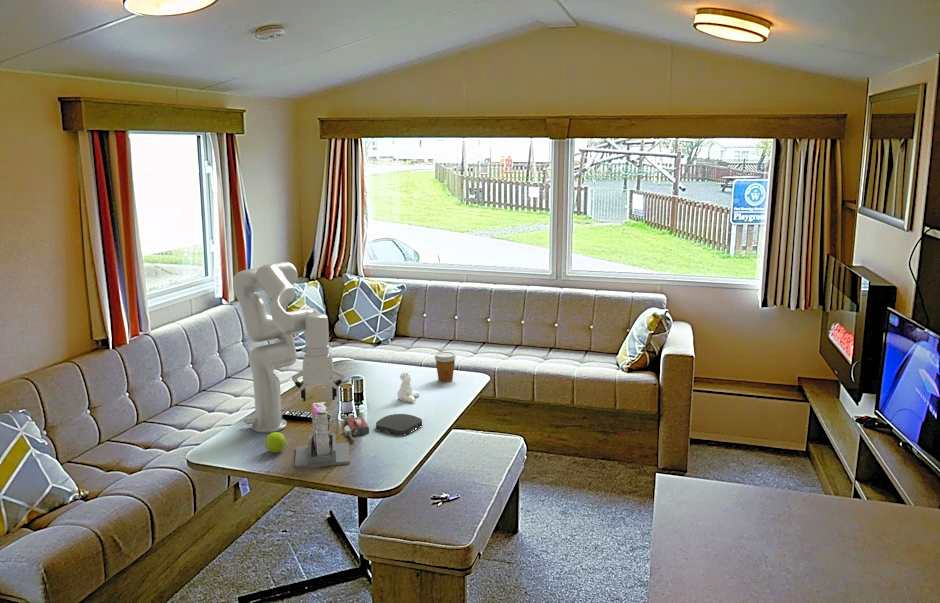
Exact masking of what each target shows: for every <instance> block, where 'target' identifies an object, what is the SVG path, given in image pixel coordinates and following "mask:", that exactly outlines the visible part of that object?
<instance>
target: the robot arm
mask: <svg viewBox="0 0 940 603" xmlns="http://www.w3.org/2000/svg"><path fill="white" fill-rule="evenodd" d="M298 275H299V274H298V271H297V268H296V267H295V265H294V264H292V263H291V262H290V261H289V262H288V261H281V262H275V263H268V264H267V263H266V264H263V265H261V266H260V267H257V268H250V269H249V268H248V269H244V270H241V271H238V272H237V273H235V275H234V276H233V279H232V290H233V292H234V293H233V294H234V295H235V298H236V300H237V301H238V303H239V305H240V307H241V312H242V316H243V320H244V321H243V322H244V325H245V330H246V332H247V337H248V338H249V340H250V341H251V342H252V343H262V342H267V341H268V342H269V341H273V340H276V342H275V343H268V344H263V345H260V346H256V347H254V348H253V349H251V350H250V352H249V355H248V362H249V366H250V369H251V373H252V375H251V376H252V382H253V394H254V395H253V396H254V408H255V409H254V410H255V415H252V417H248V416H247V417H243V423H246V425H251V428H252V430H253V431H254V432H257V433H260V434H261V433H262V434H265V433H266V434H267V433H269V434H270V433H273V432H279V431H282V430H284V429H285V428H286V427H288V426H287V425H288V424H287V420H286V419H284V418H283V412H282V411H283V410H282V394H281V392H282V391H281V381H280V379H279V377H278V376H277V375H276V374H275V372H274V371H275V370H277V369H282V368H286V367H290V366H292V365H294V364H295V363H296V362H297V350H296V345H295V344H296V343H295V340H294V335H295V334H298V333H304V334H305V338H304V339H305V346H304V347H301V348H300V349H301V352H303V353H304V354H303V360H302V370H301V371H299V372H297V373H296V374H294V375H292V376H291V379H292V382H293V383H294V385H295V387H297V388H298V389H299V390H300V398H301V399H302V400H303V401H302V402H306V401H307V395H306V394H307V392H306V387H307V386H328V385H331V387H332V388H331V390H332V391H331V392H332V393H331V394H332V400H333V401H335V399H336V397H338V394H337V388H338V387H339V386H340V385H342V383H343V380H344V379H345V373H343V372H341V371H339V370H336V369H335V368H334V363H333V362H334V361H333V356H332V353H331V352H330V341H329V337H330V336H329V319H328V318H329V317H328V315H326V314H325V313H322V312H320V311H319V310H318V309H316V308H312V307H310V308H304V309H303V308H302V309H297V310H291V311H286V310H285V309H284V308H285V307H286V306H287V305H289V304H290V303H291V302H292V301H293V300H294V298H295V297H296V289H295V287H294V284H296V282H297V280H298V279H299V278H298ZM263 291H264V292H265V293H266V295H267V296H268V297H269V298H270V299H271V303H270V314H269V313H268V311H267V306H266V303H265V300H263V299H262V297H261V296H259V295H258V294H257V292H263ZM335 376H337V377H339V378H338V379H337V380H335ZM301 377H302V382H300V381H299V380H298V379H299V378H301Z"/></svg>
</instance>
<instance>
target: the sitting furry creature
mask: <svg viewBox="0 0 940 603" xmlns="http://www.w3.org/2000/svg"><path fill="white" fill-rule="evenodd" d="M399 377H400V380H401V381H402V382H401V384H400V387H399V389H398V391H397V395H396V396H397V397H398V399H399V400H400V401H403V402H406V401H407V402H406V403H410V402H411V403H410V404H415V403H416V401H417V399H416V398H420V392H419V391H417V390H413V388H412V384H411V381H412V379H411V375H410V374H409V371H403V372H402V373H400V375H399ZM414 397H415V398H414ZM414 402H415V403H414Z"/></svg>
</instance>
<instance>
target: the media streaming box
mask: <svg viewBox="0 0 940 603" xmlns="http://www.w3.org/2000/svg"><path fill="white" fill-rule="evenodd" d="M420 426H423V420H422V418H420V417H417V416H415V415H413V414H407V413H396V414H395V413H394V414H389V415H386V416H384V417H382V418H380V419H378V420H377V421H376V423H375V430H376V429H377V430H376V431H378V430H379V431H378V432H382V433H384V432H385V434H388V433H390V435H393V434H394V435H393V436H398V435H403V436H405V435H404V434H407V435H409V434H408V433H410V432H411V431H413V430H415V428H419V427H420ZM420 428H421V427H420ZM420 428H419V429H420ZM415 431H416V430H415ZM413 432H414V431H413ZM395 434H396V435H395ZM410 434H411V433H410Z"/></svg>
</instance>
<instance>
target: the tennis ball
mask: <svg viewBox="0 0 940 603" xmlns="http://www.w3.org/2000/svg"><path fill="white" fill-rule="evenodd" d="M286 443H287V441H286V437H285V436H284V434H283V433H281V432H279V431H276V432H270V433H269V434H268V435H267V436H266V437H265V440H264V445H265V448H266V449H267V451H268V452H271V453H280V452H282V450H284V449H285V447H286V445H287V444H286Z"/></svg>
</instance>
